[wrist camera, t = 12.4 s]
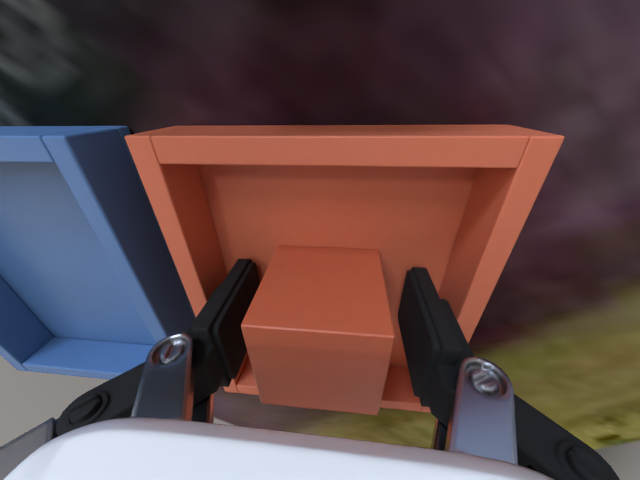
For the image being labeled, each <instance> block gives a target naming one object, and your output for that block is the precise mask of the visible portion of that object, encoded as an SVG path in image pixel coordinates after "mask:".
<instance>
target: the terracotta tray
mask: <svg viewBox="0 0 640 480" xmlns="http://www.w3.org/2000/svg"><path fill="white" fill-rule="evenodd" d="M125 140H126V142H127V145H128V147H129V150H130V153H131V155H132V158H133V160H134V163H135V165H136V168H137V170H138V173H139V175H140V178H141V180H142V183H143V185H144V188H145V190H146V193H147V195H148V198H149V200H150V203H151V205H152V208H153V210H154V213H155V216H156V218H157V221H158V223H159V226H160V228H161V231H162V233H163V236H164V238H165V241H166V243H167V246H168V248H169V251H170V253H171V256H172V258H173V261H174V263H175V266H176V268H177V271H178V273H179V276H180V278H181V281H182V284H183V286H184V289H185V291H186V294H187V296H188V299H189V301H190V304H191V306H192V309H193V311H194V314H195V316H196V317H197V315H198V314H199V313H200V311H201V310H202V308H203V307H204V305H205V304H206V302H207V301H208V299H209V298H210V296H211V295H212V293H213V292H214V290H215V289H216V288H217V287H218V286H220V285H221V284H222V282H223V281H224V279H225V278H226V276H227V275H228V273H229V272H230V270H231V269H232V267H233V266H234V264H235V263H236V261H237V260H238V259H251V260H252V261H253V262H255V263H256V266H257V271H258V277H259V282H260V283H261V281H262V278H263V276H264V274H265V272H266V270H267V268H268V266H269V263H270V261H271V259H272V257H273V255H274V253H275V250H276V248H277V246H278V245H283V246H307V247H330V248H354V249H377V250H379V253H380V259H381V264H382V269H383V275H384V280H385V285H386V290H387V296H388V301H389V306H390V312H391V317H392V322H393V327H394V333H395V341H394V345H393V350H392V354H391V359H390V363H389V368H388V372H387V377H386V381H385V386H384V391H383V395H382V400H381V404H380V407H381V408H391V409H401V410H411V411H420V410H421V411H422V412H430V413H431V411H430V408H429V407H423V406H421V403H420V399H419V397H416V396H415V395H414V392H413V388H412V383H411V379H410V374H409V369H408V365H407V360H406V355H405V351H404V346H403V342H402V337H401V332H400V328H399V323H398V310H399V305H400V300H401V296H402V291H403V286H404V281H405V277H406V272H407V270H411V268H412V267H421V268H427V270H428V272H429V275H430V277H431V279H432V282H433V284H434V286H435V288H436V291H437V293H438V295H439V297H440V299H446V300H447V301H448V303H449V305H450V307H451V309H452V311H453V313H454V315H455V317H456V319H457V321H458V324H459V326H460V328H461V330H462V332H463V334H464V336H465V338H466V340H467V342H468V343H469V341H470V339H471V337H472V335H473V332H474V330H475V328H476V326H477V324H478V322H479V320H480V318H481V315H482V313H483V311H484V309H485V307H486V305H487V303H488V300H489V298H490V296H491V294H492V292H493V290H494V288H495V285H496V283H497V281H498V279H499V277H500V275H501V273H502V271H503V268H504V266H505V264H506V262H507V260H508V258H509V256H510V253H511V251H512V249H513V247H514V245H515V243H516V241H517V238H518V236H519V234H520V232H521V230H522V228H523V226H524V224H525V221H526V219H527V217H528V215H529V213H530V211H531V209H532V206H533V204H534V202H535V200H536V198H537V196H538V194H539V191H540V189H541V187H542V185H543V183H544V181H545V179H546V177H547V174H548V172H549V170H550V168H551V166H552V164H553V162H554V159H555V157H556V155H557V153H558V151H559V149H560V147H561V144H562V142H563V140H564V136H562V135H557V134H552V133H547V132H542V131H537V130H532V129H527V128H522V127H518V126H513V125H242V126H172V127H167V128H162V129H157V130H152V131H147V132H141V133H136V134H131V135H126V136H125ZM223 387H224V386H223ZM224 389H225V391H226V392H233V393H245V394H254V395H259V392H258V389H257V385H256V381H255V377H254V374H253V370H252V366H251V363H250V359H249V355H248V351H247V352H246V355H245V357H244V360H243V362H242V365H241V367H240V370H239V372H238V375H237V377H236V378H235V379H232V380H231V383H230V385H229V387H224Z"/></svg>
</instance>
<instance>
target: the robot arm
mask: <svg viewBox="0 0 640 480" xmlns="http://www.w3.org/2000/svg"><path fill="white" fill-rule="evenodd" d="M259 285H260V282H259V277H258V271H257V266H256V263H255V262H253V261H252V260H251V259H238V260H237V261H236V263H235V264H234V266H233V267H232V269H231V270H230V272H229V273H228V275H227V276H226V278H225V279H224V281H223V282H222V284H221V285H220V286H218V287H217V288H216V289H215V290H214V292H213V293H212V295H211V296H210V298H209V299H208V301H207V302H206V304H205V305H204V307H203V308H202V310H201V311H200V313H199V314H198V315H197V317H196V318H195V320H194V321H193V323H192V324H191V326H190V327H189V329H188V330H187V332H186V333H176V334H172V335H169V336H166V337H165V338H163V339H161V340H160V341H158V342H157V343H156V344H155V345H154V346H153V347H152V348H151V350H150V351H149V353H148V355H147V358H146V361H145V362H143V363H142V364H140V365H138V366H136V367H134V368H132V369H130V370H128V371H126V372H124V373H122V374H120V375H118V376H117V377H115V378H113V379H111V380H109V381H107V382H105V383H103V384H101V385H99V386H98V387H95V388H93V389H92V390H90V391H88V392H86V393H85V394H83V395H81V396H80V397H78V398H77V399H76V400H74V401H73V402H72V403H71V404H70V405H69V406H68V407H67V408H66V409H65V410H64V411H63V413H62V414H61V416H60V418H58V419H57V420H55V419H54V418H51V419H49V420H47V421H45V422H44V423H42V424H40V425H38V426H37V427H35V428H33V429H31V430H30V431H28V432H26V433H24V434H23V435H21V436H19V437H17V438H16V439H14V440H12V441H10V442H8V443H7V444H5V445H3V446H1V447H0V480H619V477H617V475H616V473H615V472H614V471H613V469H612V468H611V466H610V465H609V464H608V463H607V462H606V461H605V460H604V459H603V458H602V457H601V456H600V455H599V454H598V453H597V452H596V451H594V450H593V449H592V448H591V447H589V446H588V445H587V444H585V443H584V442H582V441H581V440H579V439H578V438H577V437H575V436H574V435H572V434H571V433H569V432H568V431H567V430H565V429H564V428H562V427H561V426H559V425H558V424H556V423H555V422H554V421H552V420H551V419H549V418H548V417H546V416H545V415H544V414H542V413H541V412H539V411H538V410H536V409H535V408H534V407H532V406H531V405H529V404H528V403H526V402H525V401H524V400H522V399H521V398H519V397H518V396H516V395H515V394H514V390H513V386H512V383H511V381H510V379H509V378H508V376H507V375H506V374H505V373H504V371H503V370H502V369H501V368H499V367H498V366H497V365H495V364H494V363H492V362H490V361H488V360H486V359H483V358H480V357H474V355H473V353H472V351H471V349H470V347H469V345H468V342H467V340H466V338H465V336H464V334H463V332H462V330H461V328H460V326H459V324H458V321H457V319H456V317H455V315H454V313H453V311H452V309H451V307H450V305H449V303H448V301H447V300H446V299H440V297H439V295H438V293H437V291H436V288H435V286H434V284H433V282H432V279H431V277H430V275H429V272H428V270H427V268H421V267H412V268H411V270H407V272H406V277H405V281H404V286H403V291H402V296H401V300H400V305H399V310H398V323H399V328H400V332H401V337H402V342H403V346H404V351H405V355H406V360H407V365H408V369H409V374H410V379H411V383H412V388H413V392H414V395H415V396H416V397H419V399H420V403H421V406H423V407H429V408H430V411H431V413H432V414H433V415H434V416H435V417H436V423H435V428H434V434H433V439H432V445H431V449H427V448H419V447H411V446H403V445H394V444H386V443H378V442H370V441H361V440H353V439H345V438H336V437H328V436H319V435H311V434H302V433H293V432H285V431H276V430H267V429H258V428H249V427H240V426H231V425H222V424H213V411H214V392H216V391H217V390H218V387H219V386H224V387H229V385H230V383H231V380H232V379H235V378H236V377H237V375H238V372H239V370H240V367H241V365H242V362H243V360H244V357H245V355H246V352H247V348H246V344H245V340H244V337H243V333H242V329H241V324H242V322H243V319H244V317H245V315H246V313H247V311H248V309H249V306H250V304H251V302H252V300H253V298H254V296H255V294H256V291H257V289H258V287H259Z"/></svg>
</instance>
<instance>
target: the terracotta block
mask: <svg viewBox="0 0 640 480" xmlns="http://www.w3.org/2000/svg"><path fill="white" fill-rule="evenodd" d="M241 329H242V333H243V337H244V340H245V344H246V348H247V351H248V355H249V359H250V363H251V366H252V370H253V374H254V377H255V381H256V385H257V389H258V392H259V396H260V400H261V403H265V404H274V405H284V406H294V407H303V408H313V409H322V410H332V411H341V412H351V413H360V414H370V415H378V413H379V409H380V404H381V400H382V395H383V391H384V386H385V381H386V377H387V372H388V368H389V363H390V359H391V354H392V350H393V345H394V341H395V333H394V327H393V322H392V317H391V312H390V306H389V301H388V296H387V290H386V285H385V280H384V275H383V269H382V264H381V259H380V253H379V250H377V249H354V248H330V247H307V246H283V245H278V246H277V248H276V250H275V253H274V255H273V257H272V259H271V261H270V263H269V266H268V268H267V270H266V272H265V274H264V276H263V278H262V281H261V283H260V285H259V287H258V289H257V291H256V294H255V296H254V298H253V300H252V302H251V304H250V306H249V309H248V311H247V313H246V315H245V317H244V319H243V322H242V324H241Z"/></svg>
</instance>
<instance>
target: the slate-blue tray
mask: <svg viewBox="0 0 640 480" xmlns="http://www.w3.org/2000/svg"><path fill="white" fill-rule="evenodd" d="M126 135H131V133H130V130H129V128H128V126H0V355H1V356H2V357H3V358H5V359H6V360H7V361H8V362H9V363H10V364H11V365H12V366H13V367H15V368H16V369H17V370H20V371H32V372H41V373H51V374H61V375H71V376H80V377H90V378H100V379H110V380H111V379H113V378H115V377H117V376H118V375H120V374H122V373H124V372H126V371H128V370H130V369H132V368H134V367H136V366H138V365H140V364H142V363H143V362H145V361H146V358H147V355H148V353H149V351H150V350H151V348H152V347H153V346H154V345H155V344H156V343H157V342H158V341H160V340H161V339H163V338H165V337H166V336H169V335H172V334H176V333H186V332H187V330H188V329H189V327H190V326H191V324H192V323H193V321H194V320H195V318H196V316H195V314H194V311H193V309H192V306H191V304H190V301H189V299H188V296H187V294H186V291H185V289H184V286H183V284H182V281H181V278H180V276H179V273H178V271H177V268H176V266H175V263H174V261H173V258H172V256H171V253H170V251H169V248H168V246H167V243H166V241H165V238H164V236H163V233H162V231H161V228H160V226H159V223H158V221H157V218H156V216H155V213H154V210H153V208H152V205H151V203H150V200H149V198H148V195H147V193H146V190H145V188H144V185H143V183H142V180H141V178H140V175H139V173H138V170H137V168H136V165H135V163H134V160H133V158H132V155H131V153H130V150H129V147H128V145H127V142H126V140H125V136H126Z"/></svg>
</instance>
